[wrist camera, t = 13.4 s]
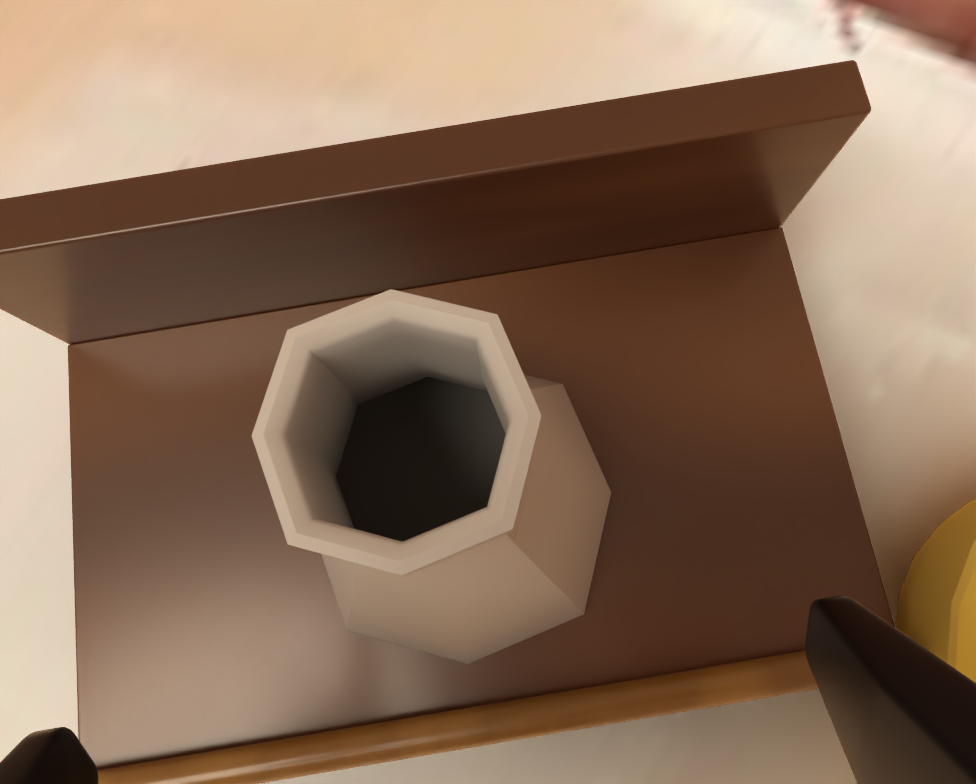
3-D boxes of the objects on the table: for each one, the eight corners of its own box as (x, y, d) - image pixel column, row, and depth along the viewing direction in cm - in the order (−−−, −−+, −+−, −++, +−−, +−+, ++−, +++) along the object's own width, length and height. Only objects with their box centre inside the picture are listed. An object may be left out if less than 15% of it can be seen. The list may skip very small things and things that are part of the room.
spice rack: (832, 650, 20) (1071, 709, 12) (161, 763, 20) (-103, 910, 12) (727, 249, 23) (856, 57, 15) (140, 346, 23) (-84, 211, 14)
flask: (311, 672, 17) (41, 812, 7) (309, 370, 19) (88, 153, 9) (626, 652, 17) (781, 765, 7) (594, 349, 19) (685, 107, 9)
